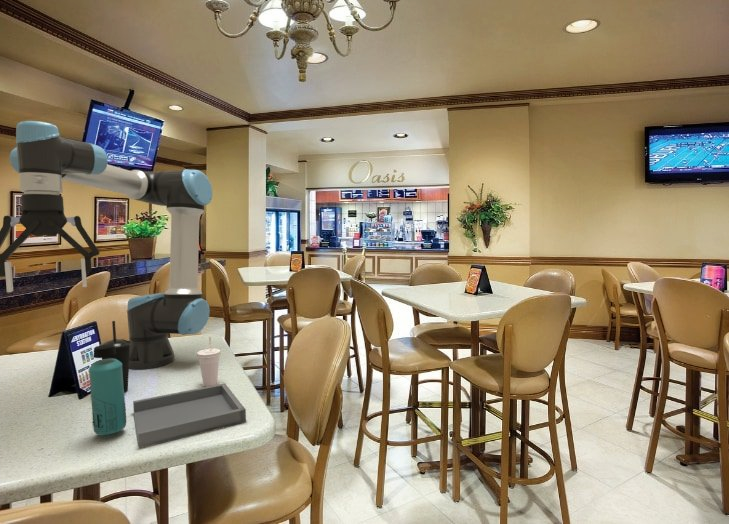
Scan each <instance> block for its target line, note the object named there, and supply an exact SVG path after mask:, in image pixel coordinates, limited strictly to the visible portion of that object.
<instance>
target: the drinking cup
mask: <svg viewBox="0 0 729 524" xmlns="http://www.w3.org/2000/svg"><path fill="white" fill-rule="evenodd" d="M111 322H112V323H111V325H112V338H113V339H109V340H107V341H104V342H103V343H101V344H99V345H98V346H100V345H107V344H112V345H114V346H115V351H116V354H115V355H114V356H110V357H106V358H101V360H103V359H111V358H112V359H117V360H118V361H120V362H121V363H122V373H123V387H124V394H126V393H127V392H128V391H129V369H130V368H129V352H130V344H131V342H130V341H129V340H127V339H123V338H117V333H116V330H117V329H116V320H112V321H111Z"/></svg>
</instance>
